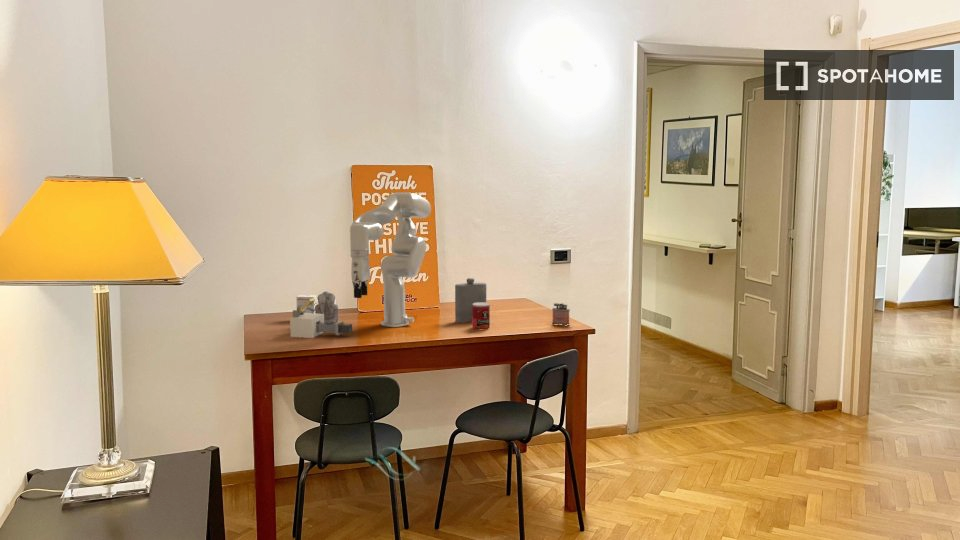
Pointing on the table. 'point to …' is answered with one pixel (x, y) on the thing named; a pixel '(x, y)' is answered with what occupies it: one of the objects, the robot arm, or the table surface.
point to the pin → (334, 327)
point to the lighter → (560, 314)
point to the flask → (468, 299)
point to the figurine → (327, 307)
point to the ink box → (303, 299)
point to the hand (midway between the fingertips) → (360, 296)
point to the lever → (305, 306)
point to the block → (305, 324)
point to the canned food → (481, 315)
